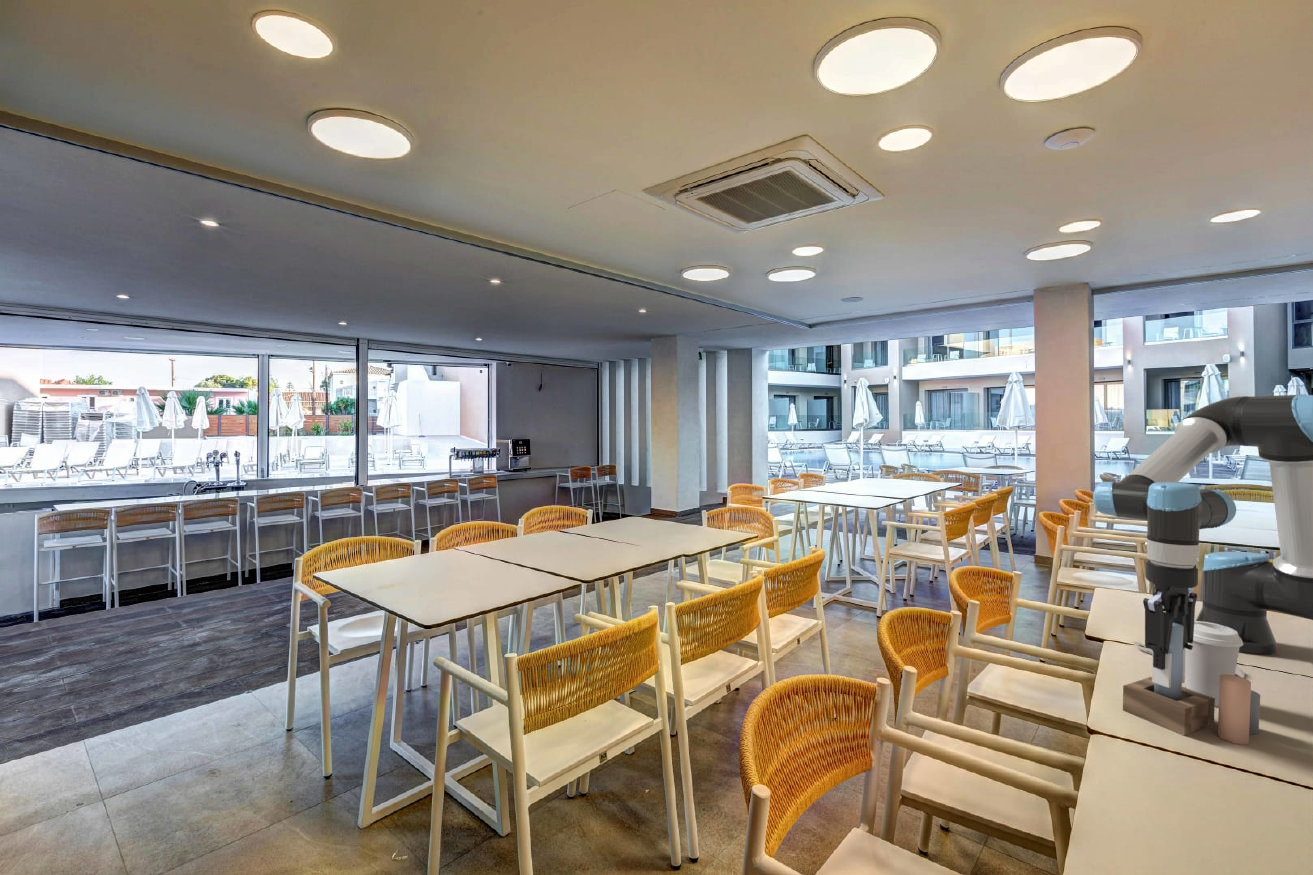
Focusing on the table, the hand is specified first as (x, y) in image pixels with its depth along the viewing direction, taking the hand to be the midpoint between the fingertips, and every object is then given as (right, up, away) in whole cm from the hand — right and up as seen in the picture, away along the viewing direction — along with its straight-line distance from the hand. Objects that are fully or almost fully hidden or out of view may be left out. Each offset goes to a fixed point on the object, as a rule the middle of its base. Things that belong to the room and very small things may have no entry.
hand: (1168, 681), depth 112 cm
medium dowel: (+5, -7, -7) cm, 12 cm away
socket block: (0, -7, 0) cm, 7 cm away
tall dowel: (0, -5, 0) cm, 5 cm away
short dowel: (+11, -7, -4) cm, 13 cm away
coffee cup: (+14, -7, +7) cm, 17 cm away
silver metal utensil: (+26, -6, +25) cm, 37 cm away
